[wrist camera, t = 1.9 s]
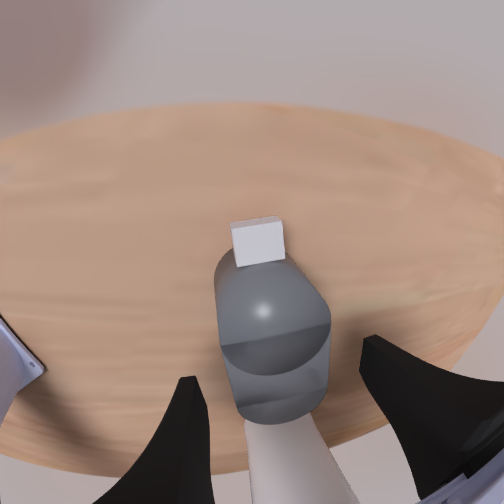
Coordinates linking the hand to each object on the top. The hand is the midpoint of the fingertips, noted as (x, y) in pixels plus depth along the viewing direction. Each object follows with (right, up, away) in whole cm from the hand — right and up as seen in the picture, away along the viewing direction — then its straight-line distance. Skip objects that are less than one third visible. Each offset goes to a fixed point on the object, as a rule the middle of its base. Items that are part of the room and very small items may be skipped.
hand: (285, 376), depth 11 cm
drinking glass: (0, -8, +9) cm, 12 cm away
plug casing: (-1, +2, +5) cm, 5 cm away
